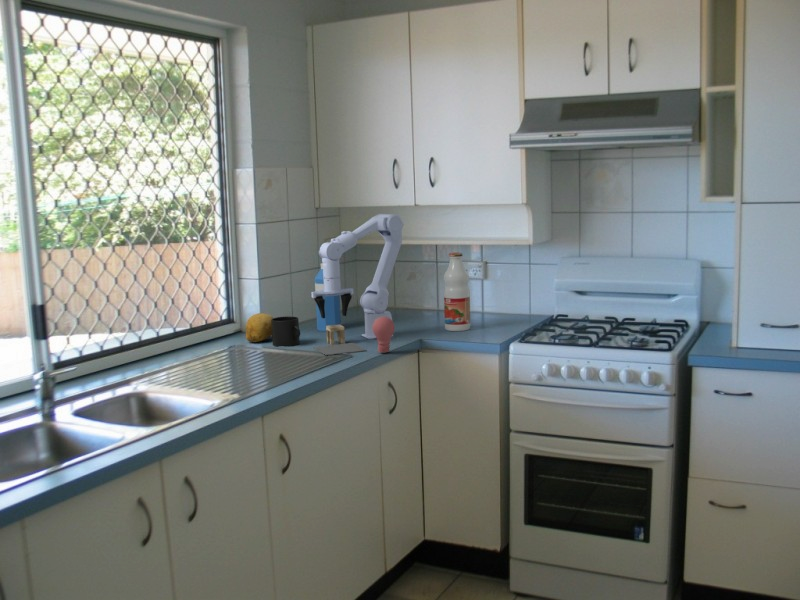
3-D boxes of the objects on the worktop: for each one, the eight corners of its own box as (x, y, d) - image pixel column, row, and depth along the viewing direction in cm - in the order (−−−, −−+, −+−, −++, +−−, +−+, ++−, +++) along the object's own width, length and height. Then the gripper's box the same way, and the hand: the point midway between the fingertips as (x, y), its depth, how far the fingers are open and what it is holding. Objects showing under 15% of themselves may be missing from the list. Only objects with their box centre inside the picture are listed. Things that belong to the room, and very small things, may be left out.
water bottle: (344, 326, 327) (341, 261, 323) (338, 331, 318) (334, 264, 314) (320, 326, 328) (317, 262, 325) (313, 331, 319) (310, 265, 316)
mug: (290, 348, 289) (288, 322, 287) (266, 345, 296) (265, 319, 295) (310, 343, 296) (309, 318, 294) (287, 340, 304) (285, 315, 302)
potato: (239, 343, 301) (237, 315, 300) (259, 336, 312) (257, 310, 311) (263, 345, 297) (261, 316, 295) (283, 338, 308) (281, 311, 307)
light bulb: (396, 354, 273) (394, 318, 271) (374, 356, 272) (372, 319, 271) (394, 350, 280) (393, 314, 278) (373, 351, 279) (371, 315, 278)
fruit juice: (475, 329, 312) (474, 252, 307) (456, 332, 306) (453, 255, 302) (459, 325, 319) (457, 251, 315) (439, 329, 314) (437, 253, 310)
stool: (340, 341, 298) (339, 324, 297) (345, 343, 294) (344, 326, 293) (327, 342, 296) (326, 325, 296) (331, 345, 292) (330, 328, 291)
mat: (353, 343, 293) (353, 342, 293) (366, 351, 280) (366, 349, 280) (314, 348, 288) (313, 347, 288) (325, 355, 275) (325, 354, 275)
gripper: (348, 274, 298) (350, 312, 300) (308, 278, 293) (310, 317, 295) (354, 276, 292) (356, 315, 294) (313, 280, 286) (316, 320, 288)
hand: (333, 316), depth 294 cm, fingers open, 7 cm apart
